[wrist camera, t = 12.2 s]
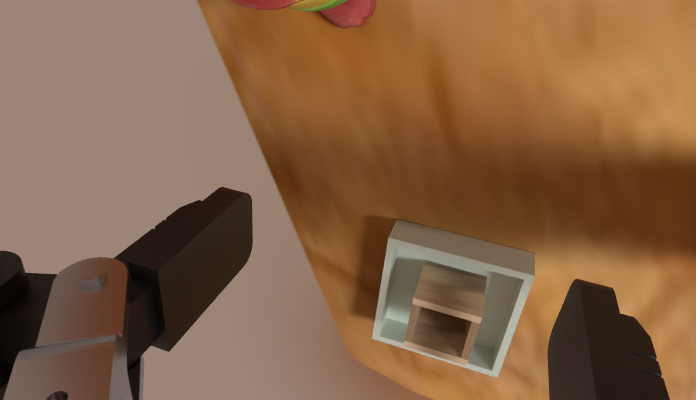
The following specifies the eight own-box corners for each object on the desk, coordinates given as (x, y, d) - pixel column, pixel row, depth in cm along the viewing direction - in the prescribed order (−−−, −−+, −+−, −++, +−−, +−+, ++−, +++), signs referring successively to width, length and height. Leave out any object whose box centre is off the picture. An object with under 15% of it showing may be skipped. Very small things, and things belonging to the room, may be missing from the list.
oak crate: (487, 276, 46) (482, 317, 41) (472, 322, 49) (466, 365, 44) (425, 259, 47) (413, 297, 42) (415, 305, 50) (403, 345, 45)
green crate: (534, 253, 44) (534, 275, 41) (499, 352, 50) (497, 377, 47) (397, 218, 47) (388, 237, 44) (380, 316, 53) (372, 338, 50)
